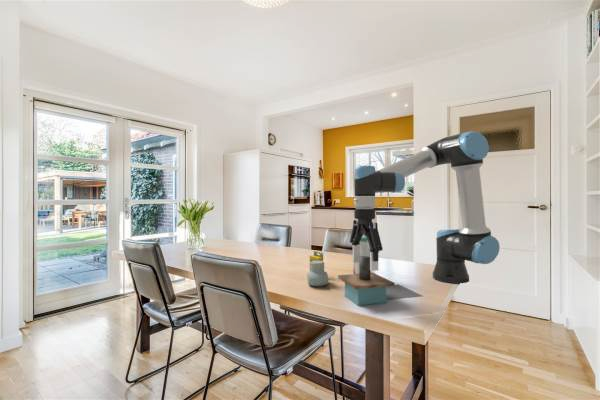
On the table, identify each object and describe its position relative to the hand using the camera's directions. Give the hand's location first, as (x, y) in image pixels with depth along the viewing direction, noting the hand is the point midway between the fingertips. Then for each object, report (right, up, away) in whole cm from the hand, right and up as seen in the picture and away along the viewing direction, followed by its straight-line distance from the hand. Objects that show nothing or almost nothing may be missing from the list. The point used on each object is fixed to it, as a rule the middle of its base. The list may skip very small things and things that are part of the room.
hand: (364, 266), depth 110 cm
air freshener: (-16, -13, +20) cm, 29 cm away
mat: (+13, -13, +9) cm, 20 cm away
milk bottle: (+4, -13, +25) cm, 29 cm away
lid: (0, -6, 0) cm, 6 cm away
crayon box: (-16, -13, +34) cm, 40 cm away
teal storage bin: (0, -13, 0) cm, 13 cm away
